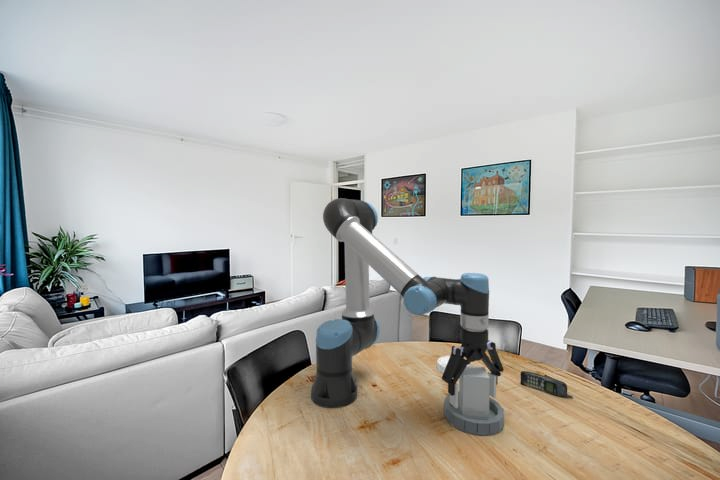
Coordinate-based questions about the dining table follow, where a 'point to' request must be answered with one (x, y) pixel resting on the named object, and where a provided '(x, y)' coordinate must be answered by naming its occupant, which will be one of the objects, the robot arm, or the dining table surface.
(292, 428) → the dining table surface
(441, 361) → the mooncake
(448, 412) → the round tray
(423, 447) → the dining table surface
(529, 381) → the mobile phone
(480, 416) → the supplement box
